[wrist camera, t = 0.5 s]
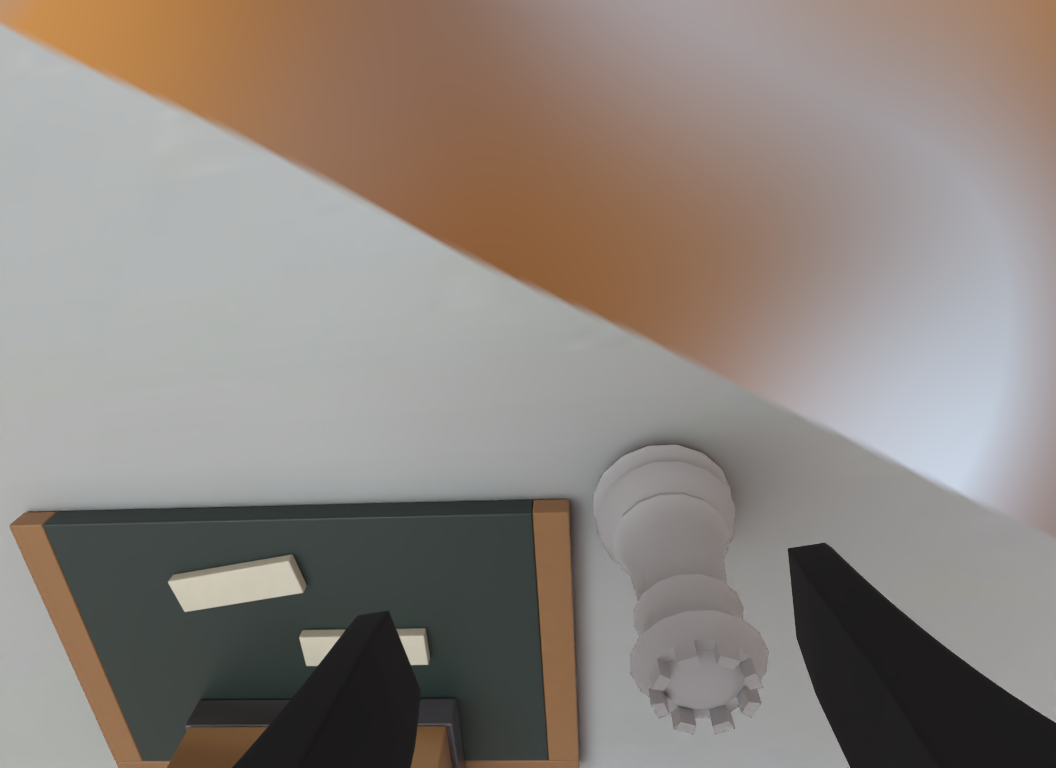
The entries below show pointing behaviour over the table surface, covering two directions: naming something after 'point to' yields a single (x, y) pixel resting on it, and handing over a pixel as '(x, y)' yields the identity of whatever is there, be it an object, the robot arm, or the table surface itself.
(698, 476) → the rook chess piece
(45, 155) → the table surface
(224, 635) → the chalkboard
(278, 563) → the chalk mark
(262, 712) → the duster
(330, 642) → the chalk mark
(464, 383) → the table surface
